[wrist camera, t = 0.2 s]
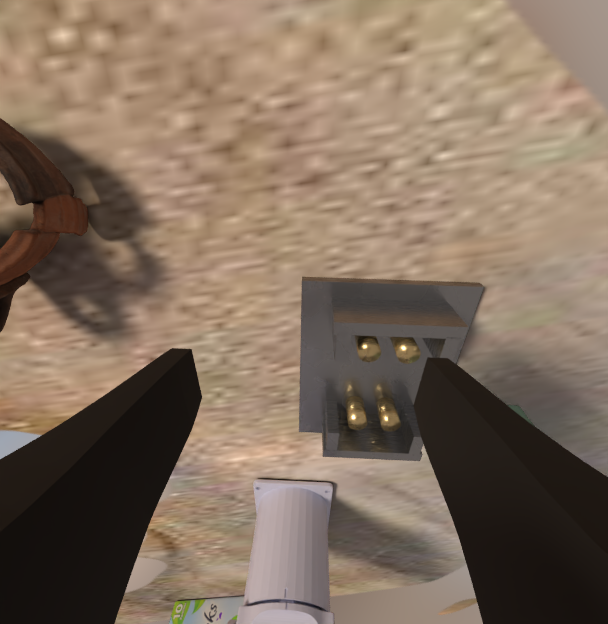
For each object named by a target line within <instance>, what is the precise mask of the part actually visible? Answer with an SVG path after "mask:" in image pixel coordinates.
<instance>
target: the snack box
mask: <svg viewBox="0 0 608 624" xmlns="http://www.w3.org/2000/svg"><path fill="white" fill-rule="evenodd" d="M243 601H244V596H238V597H224V598H212V599H199V600H185V601H176V602H175V605H174V608H173V611H172V614H171V618H170V621H169V624H227V623H228V621H229V620H231V619H233V620H237V616H238V610H239V606H243Z"/></svg>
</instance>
